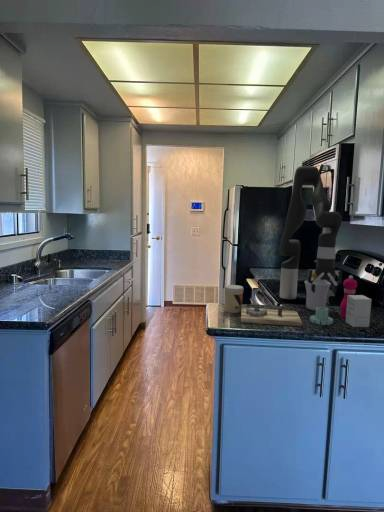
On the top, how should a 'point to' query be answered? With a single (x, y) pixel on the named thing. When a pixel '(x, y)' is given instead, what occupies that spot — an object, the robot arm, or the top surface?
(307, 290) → the soap bottle
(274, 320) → the carrier
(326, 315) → the planet gear
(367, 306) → the supplement box
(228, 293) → the coffee cup
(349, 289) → the pepper mill
